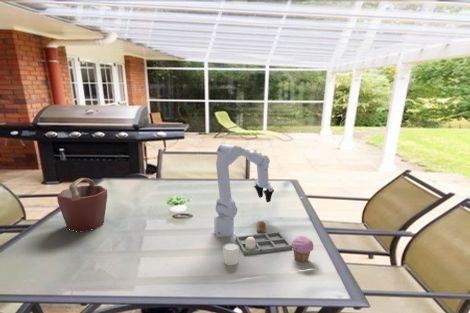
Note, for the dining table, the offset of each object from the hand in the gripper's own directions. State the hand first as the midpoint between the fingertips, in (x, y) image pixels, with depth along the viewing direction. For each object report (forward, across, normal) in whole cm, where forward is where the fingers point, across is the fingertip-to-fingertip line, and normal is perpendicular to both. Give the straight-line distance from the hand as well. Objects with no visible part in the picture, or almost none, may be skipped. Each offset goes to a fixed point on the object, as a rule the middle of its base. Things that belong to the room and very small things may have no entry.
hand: (264, 199), depth 171 cm
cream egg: (+6, -29, +27) cm, 40 cm away
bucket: (+1, +35, +90) cm, 96 cm away
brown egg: (+8, -16, +13) cm, 22 cm away
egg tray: (+7, -27, +20) cm, 34 cm away
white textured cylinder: (+5, -34, +39) cm, 52 cm away
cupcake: (+8, -46, +13) cm, 48 cm away
